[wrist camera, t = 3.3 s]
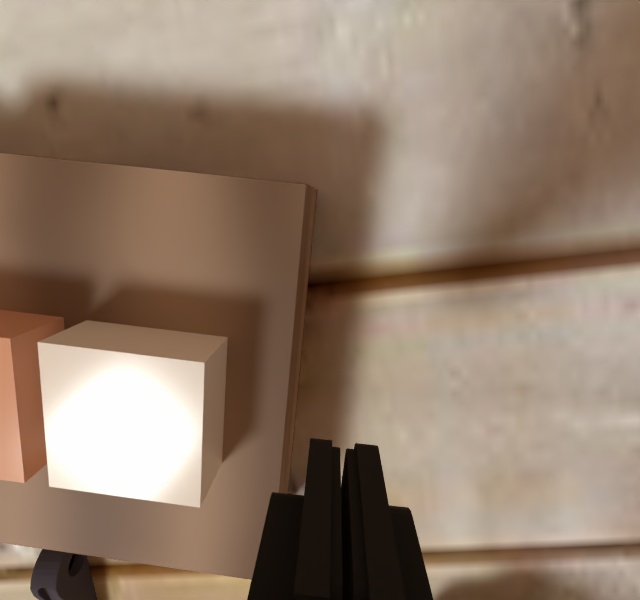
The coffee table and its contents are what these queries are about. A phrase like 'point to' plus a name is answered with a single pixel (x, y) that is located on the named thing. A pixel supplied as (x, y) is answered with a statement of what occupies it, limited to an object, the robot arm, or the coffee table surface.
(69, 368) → the cream tile
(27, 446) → the terracotta tile
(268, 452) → the tan square panel
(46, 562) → the bracket
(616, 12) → the coffee table surface
